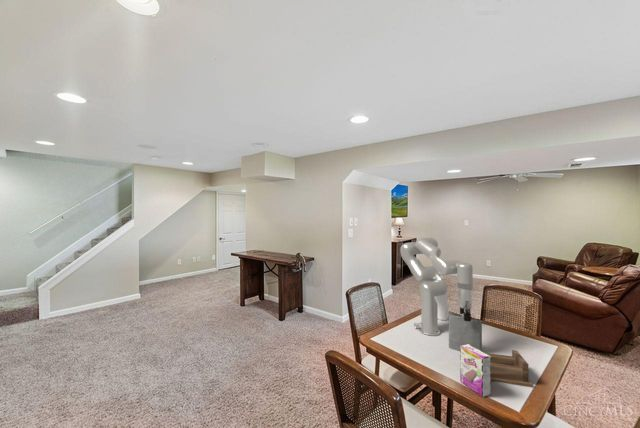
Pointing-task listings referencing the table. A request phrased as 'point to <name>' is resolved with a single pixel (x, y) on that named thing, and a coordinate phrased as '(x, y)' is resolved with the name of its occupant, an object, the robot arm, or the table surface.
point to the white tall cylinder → (442, 306)
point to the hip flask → (464, 332)
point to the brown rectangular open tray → (510, 369)
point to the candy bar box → (475, 370)
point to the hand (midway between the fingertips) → (465, 317)
